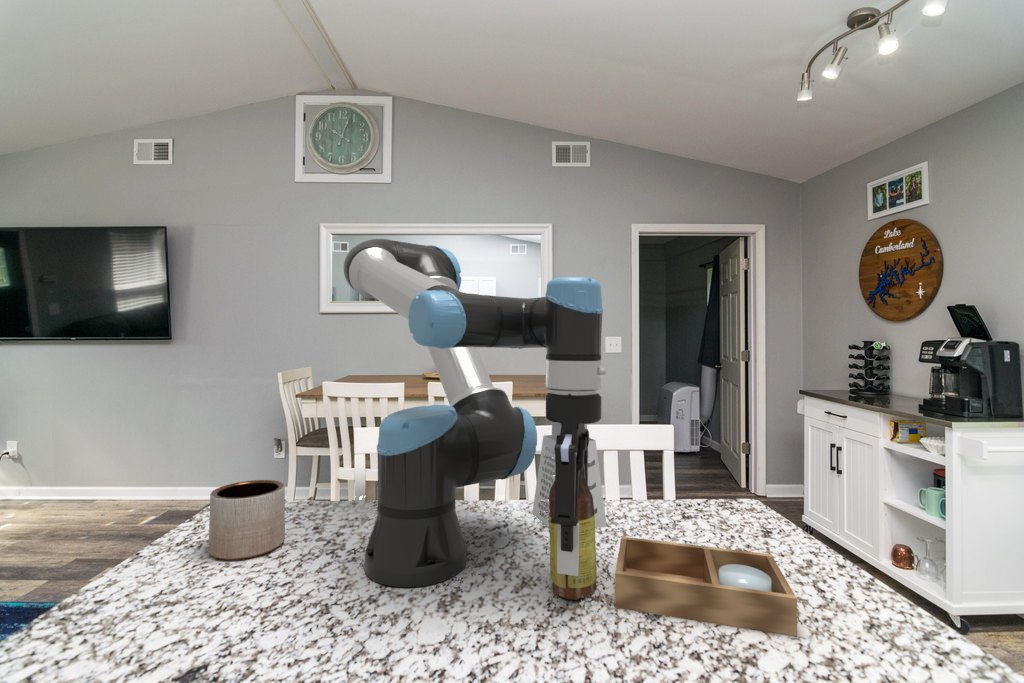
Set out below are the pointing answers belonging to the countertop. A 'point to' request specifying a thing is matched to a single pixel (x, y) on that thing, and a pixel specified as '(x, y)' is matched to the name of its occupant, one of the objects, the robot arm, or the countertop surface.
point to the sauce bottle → (586, 579)
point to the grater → (549, 470)
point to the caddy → (701, 586)
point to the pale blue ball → (744, 577)
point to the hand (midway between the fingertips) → (572, 561)
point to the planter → (246, 519)
